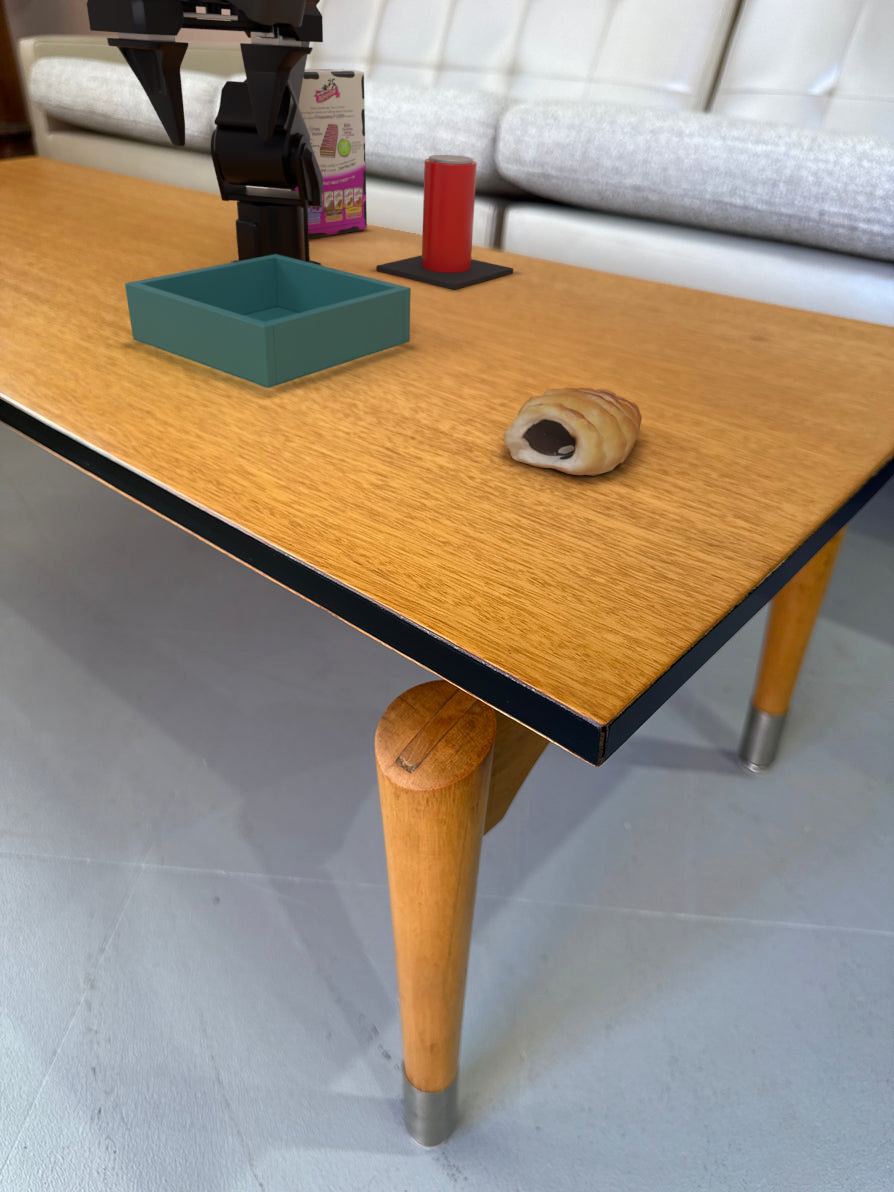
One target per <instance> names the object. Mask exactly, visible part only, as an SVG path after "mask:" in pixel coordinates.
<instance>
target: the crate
mask: <svg viewBox="0 0 894 1192" xmlns="http://www.w3.org/2000/svg"><path fill="white" fill-rule="evenodd" d="M124 288H125V295H126V300H127V306H128V314H129V321H130V327H131V334H132V339H133V340H134V341H136V342H139V343H142V344H145V345H147V346H151V347H154V348H156V349H159V350H162V351H164V352H167V353H169V354H172V355H175V356H178V357H181V358H184V359H186V360H189V361H192V362H194V363H197V364H200V365H203V366H206V367H209V368H211V369H214V370H217V371H220V372H222V373H225V374H228V375H230V376H233V377H236V378H239V379H242V380H244V381H247V382H249V383H253V384H255V385H257V386H261V387H264V388H267V389H271V388H273V387H276V386H279V385H283V384H285V383H289V382H291V381H294V380H295V381H296V380H297V379H300V378H304V377H307V376H309V375H313V374H316V373H318V372H322V371H325V370H328V369H330V368H331V369H332V368H334V367H337V366H340V365H343V364H346V363H348V362H349V363H350V362H353V361H354V360H355V361H356V360H359V359H361V358H364V357H367V356H370V355H374V354H377V353H379V352H383V351H385V350H388V349H392V348H395V347H398V346H400V345H403V344H406V343H409V342H410V335H411V334H410V329H411V296H412V295H411V291H412V290H411V287H409V286H405V285H401V284H397V283H393V282H390V281H385V280H381V279H377V278H374V277H370V276H366V275H361V274H358V273H357V274H356V273H353V272H349V271H346V270H341V269H337V268H334V267H329V266H325V265H322V264H321V265H317V264H313V263H309V262H305V261H301V260H297V259H293V258H289V257H285V256H281V255H277V254H274V255H269V256H263V257H258V258H253V259H248V260H243V261H237V262H232V263H231V262H228V263H223V264H217V265H216V264H215V265H212V266H206V267H201V268H196V269H191V270H186V271H180V272H175V273H170V274H164V275H160V276H159V275H158V276H155V277H149V278H145V279H138V280H135V281H134V280H133V281H128V282H125V283H124Z"/></svg>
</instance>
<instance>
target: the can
mask: <svg viewBox="0 0 894 1192" xmlns="http://www.w3.org/2000/svg"><path fill="white" fill-rule="evenodd" d="M477 166H478V162H477V161H474V158H472V157H470V156H464V155H456V154H433V155H429V156H428V158H425V159H424V165H423V167H424V169H423V170H424V171H423V174H424V175H423V198H422V199H423V203H422V204H423V205H422V207H423V209H422V236H421V239H422V240H421V241H422V243H421V255H422V267H423V268H424V269H427V270H430V271H435V272H443V273H458V272H465V271H468V270H470V268H471V259H472V253H473V252H472V251H473V236H474V235H473V233H474V220H475V219H474V217H475V201H476V199H475V198H476V185H477V168H478V167H477Z"/></svg>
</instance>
